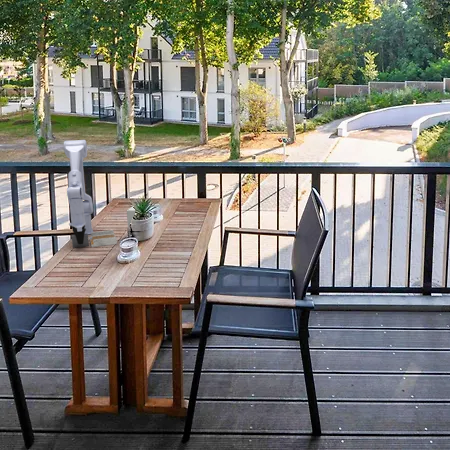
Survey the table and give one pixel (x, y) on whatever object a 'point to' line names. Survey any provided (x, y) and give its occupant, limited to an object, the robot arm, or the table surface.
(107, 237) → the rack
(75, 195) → the robot arm
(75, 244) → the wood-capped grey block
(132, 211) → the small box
